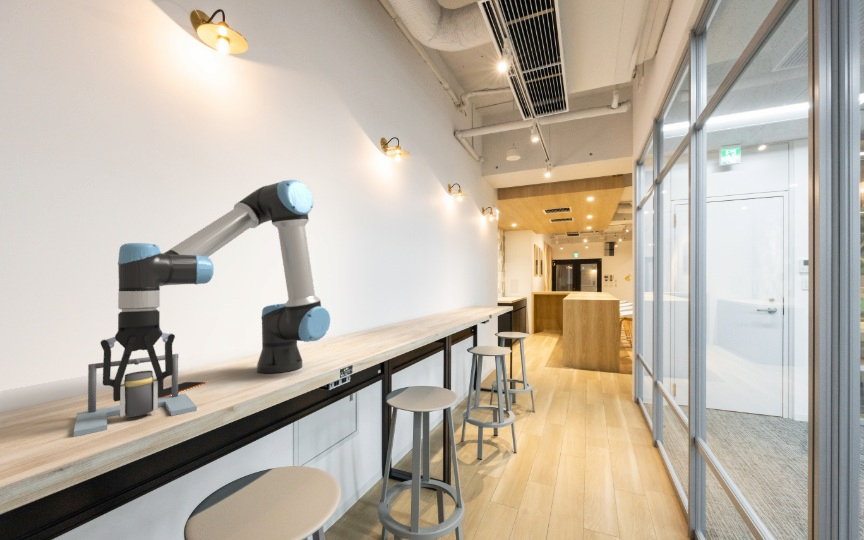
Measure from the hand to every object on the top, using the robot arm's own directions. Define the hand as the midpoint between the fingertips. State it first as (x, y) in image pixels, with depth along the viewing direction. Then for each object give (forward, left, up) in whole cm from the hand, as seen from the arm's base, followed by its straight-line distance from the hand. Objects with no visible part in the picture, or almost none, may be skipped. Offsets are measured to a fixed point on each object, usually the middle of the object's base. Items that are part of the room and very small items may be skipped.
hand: (139, 411), depth 84 cm
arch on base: (0, -3, -1) cm, 3 cm away
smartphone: (-9, -22, -2) cm, 24 cm away
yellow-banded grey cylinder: (0, 0, 0) cm, 0 cm away
